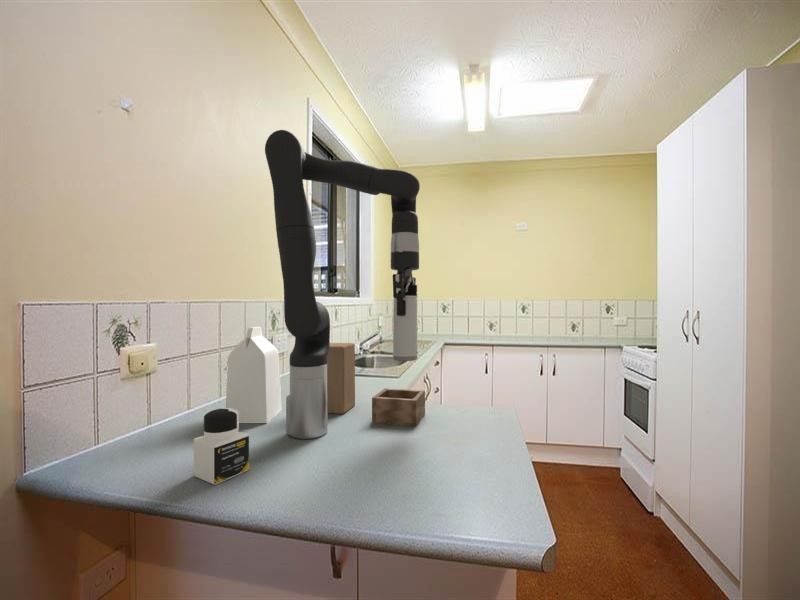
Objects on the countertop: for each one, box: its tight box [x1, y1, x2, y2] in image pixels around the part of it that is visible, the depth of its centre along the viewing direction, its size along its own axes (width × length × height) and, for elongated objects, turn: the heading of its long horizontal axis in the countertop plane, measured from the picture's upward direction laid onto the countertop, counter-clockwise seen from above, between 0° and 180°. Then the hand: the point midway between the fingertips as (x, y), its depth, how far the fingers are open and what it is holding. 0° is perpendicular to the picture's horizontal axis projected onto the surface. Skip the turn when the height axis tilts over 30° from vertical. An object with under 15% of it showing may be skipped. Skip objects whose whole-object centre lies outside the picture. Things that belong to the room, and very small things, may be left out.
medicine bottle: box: [193, 407, 250, 486], centre depth 70 cm, size 7×7×12 cm
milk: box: [225, 326, 283, 424], centre depth 105 cm, size 12×12×26 cm
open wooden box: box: [371, 388, 426, 427], centre depth 103 cm, size 12×11×7 cm
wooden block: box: [327, 342, 356, 415], centre depth 112 cm, size 10×10×20 cm
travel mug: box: [392, 284, 418, 362], centre depth 95 cm, size 6×7×20 cm
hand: (404, 315), depth 95 cm, fingers closed on travel mug, 6 cm apart
